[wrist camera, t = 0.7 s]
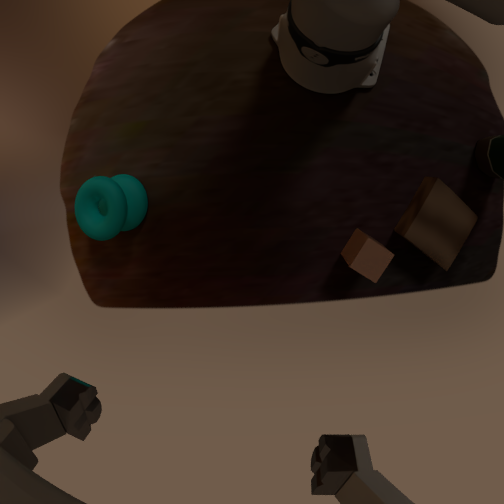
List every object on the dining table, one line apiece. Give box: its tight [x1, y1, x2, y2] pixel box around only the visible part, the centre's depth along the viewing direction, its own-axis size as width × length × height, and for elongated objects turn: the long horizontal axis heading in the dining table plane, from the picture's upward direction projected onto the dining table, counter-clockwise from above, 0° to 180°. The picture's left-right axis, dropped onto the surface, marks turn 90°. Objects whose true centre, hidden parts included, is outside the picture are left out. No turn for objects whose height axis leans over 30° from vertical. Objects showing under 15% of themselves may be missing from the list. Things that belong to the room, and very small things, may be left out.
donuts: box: [75, 174, 148, 241], centre depth 43 cm, size 10×10×10 cm
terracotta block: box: [341, 228, 394, 283], centre depth 42 cm, size 5×5×7 cm
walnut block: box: [394, 177, 478, 271], centre depth 41 cm, size 11×11×5 cm
